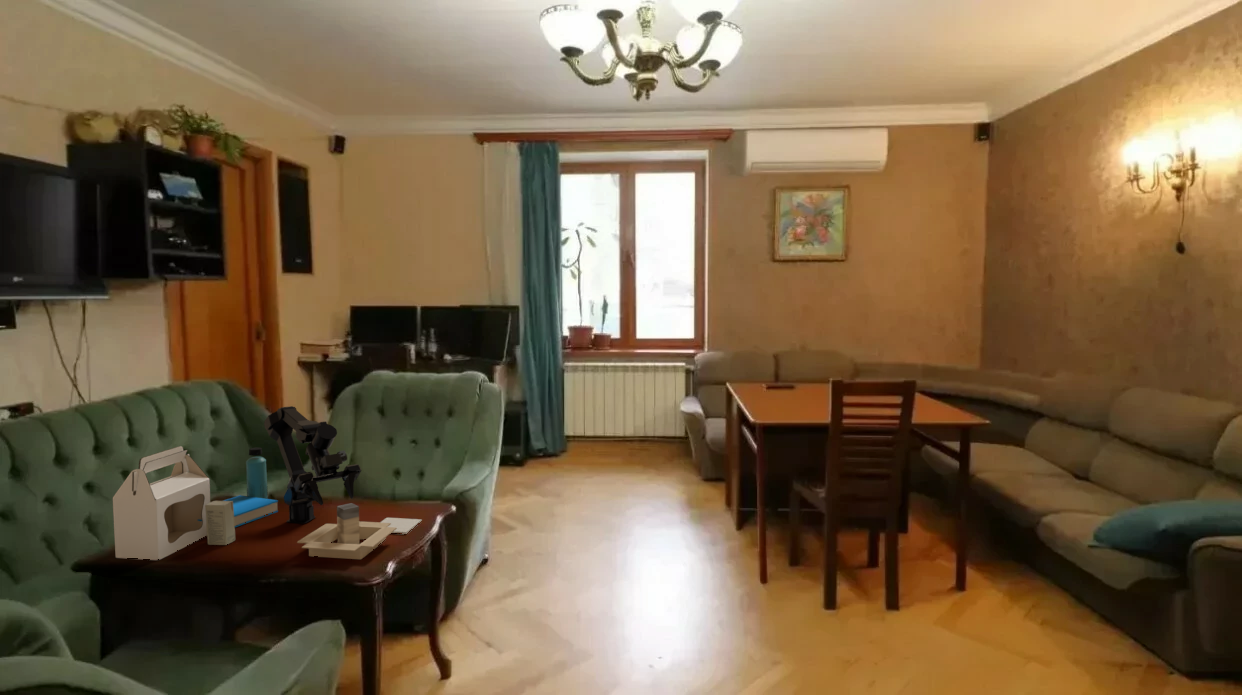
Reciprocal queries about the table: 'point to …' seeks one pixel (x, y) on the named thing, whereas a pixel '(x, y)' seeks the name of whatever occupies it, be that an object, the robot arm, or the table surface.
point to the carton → (327, 533)
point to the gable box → (160, 507)
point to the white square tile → (401, 524)
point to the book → (249, 509)
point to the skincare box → (220, 522)
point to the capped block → (348, 524)
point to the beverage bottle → (256, 475)
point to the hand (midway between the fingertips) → (337, 501)
